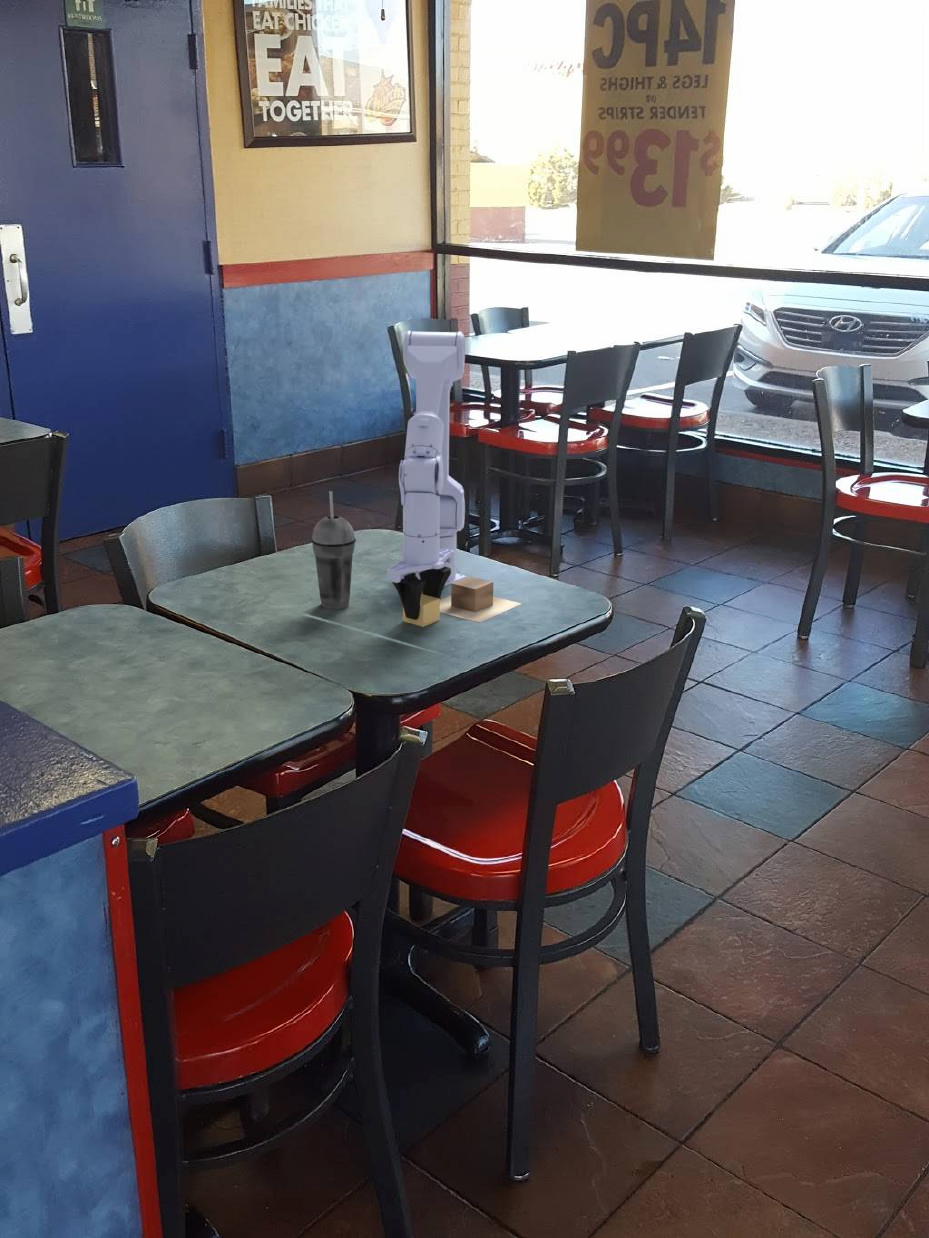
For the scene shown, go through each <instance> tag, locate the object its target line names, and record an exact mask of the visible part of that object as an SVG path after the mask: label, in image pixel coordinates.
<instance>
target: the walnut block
mask: <svg viewBox="0 0 929 1238" xmlns="http://www.w3.org/2000/svg"><path fill="white" fill-rule="evenodd" d="M450 586H451V587H450V588H451V590H450V591H451V592H450V595H451V606H452V607H456V608H460V609H464V610H468V611H472V612H477V611H480V610H482V609H484V608H487V607H489V606H491V605H493V597H494V581H491V580H486V579H482V578H479V577H475V576H470V575H469V576H466V578H464V579H461V580H458V581H456V582H453V583H451V584H450Z"/></svg>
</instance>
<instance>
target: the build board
mask: <svg viewBox="0 0 929 1238" xmlns="http://www.w3.org/2000/svg"><path fill="white" fill-rule="evenodd" d="M520 605H522V603H520V602H517V601H513V600H508V599H504V598H501V597H497V596H493V605H491V606H489V607H487V608H484V609H482V610H480V611H477V612H472V611H468V610H464V609H460V608H456V607H452V606H451V594H450V595H448V596H446V597H443V598H440V614H445V615H448V616H452V617H455V618H456V617H457V618H459V619H464V620H467V621H472V622H476V623H479V624H480V623H483V622H486V621H487V620H490V619H491V618H492V619H493V618H494V617H496V616H499V615H500V614H503V613H505V612H508V611H509V610H512V609H514V608H517V607H519V606H520Z"/></svg>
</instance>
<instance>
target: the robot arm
mask: <svg viewBox="0 0 929 1238" xmlns="http://www.w3.org/2000/svg"><path fill="white" fill-rule="evenodd" d="M402 345H403V346H402V347H403V348H402V351H403V352H402V353H403V354H402V355H403V364H404V367H405V369H406V372H407V373H408V374H409V376H410V378H412V379H415V380H416V381H415V382H416V383H415V385H416V387H415V393H416V394H415V397H416V398H415V402H416V403H415V405H416V406H415V408H416V410H415V413H416V414H415V415H413V416H412V417H411V418H409V420H408V421H407V430H406V440H405V449H404V459H401V460H400V463H399V470H398V485H399V490H400V491H399V492H400V502H401V506H402V507H403V508H402V525H403V526H402V528H403V529H402V531H403V532H402V534H403V535H402V541H401V542H402V543H401V559H400V560H399V561H397V562H396V563H395V564H394V565H392V566H391V567H389V568H387V569H386V580H387V582H391V583H392V585H393V586H394V588H395V589H396V591H397V594H398V595H399V598H400V601H401V604H402V609H403V608H404V611H405V615H406V618H410V619H413V620H417V619H418V617H419V612H420V600H421V594H424V595H428V596H432V597H435V598H439V599H440V600H441V596H442V593H443V590H444V588H445V587H447V586H449V585H451V583H453V582H456V581H458V580H461V579H464V578H466V577H467V575H464V574H460V573H457V533H458V532H461V531H462V529H464V527H465V515H466V501H465V490H464V487H463V485H462V484H461V483H459V482H458V481H457V480H455V479H454V478H453V477H451V476H450V475H449V471H450V406H451V405H450V403H451V402H450V400H451V399H450V397H451V396H450V395H451V390H452V387H453V383H454V382H456V381H459V380H461V379H463V378H464V374H465V361H466V337H465V335H464V333H463V332H462V331H456V332H455V331H453V332H451V331H446V332H445V331H412V330H407V332H405V334H404V337H403V344H402Z"/></svg>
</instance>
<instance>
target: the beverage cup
mask: <svg viewBox="0 0 929 1238" xmlns="http://www.w3.org/2000/svg"><path fill="white" fill-rule="evenodd" d="M328 493H329V509H330V510H329V511H330V515H328V516H325V517H323V518H322V519H320V520H319V521H318V522H317V523H316V524H315V526H314V527H313V532H312V537H311V544H312V551H313V554H314V558H315V566H316V573H317V583H318V591H319V597H320V598H319V600H320V604H321V607H322V608H324V609H327V610H342V609H346V608H347V607H349V605H350V600H351V599H350V598H351V584H352V569H353V554H354V553H355V543H356V541H357V539H356V536H355V532H354V531H355V530H354V529H353V526H352V525H351V524H350V522H349V521H348V520H346V519H345V518H343V517H342V516H340V515H334V499H333V498H334V497H333V491H331V490H329V492H328Z"/></svg>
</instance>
